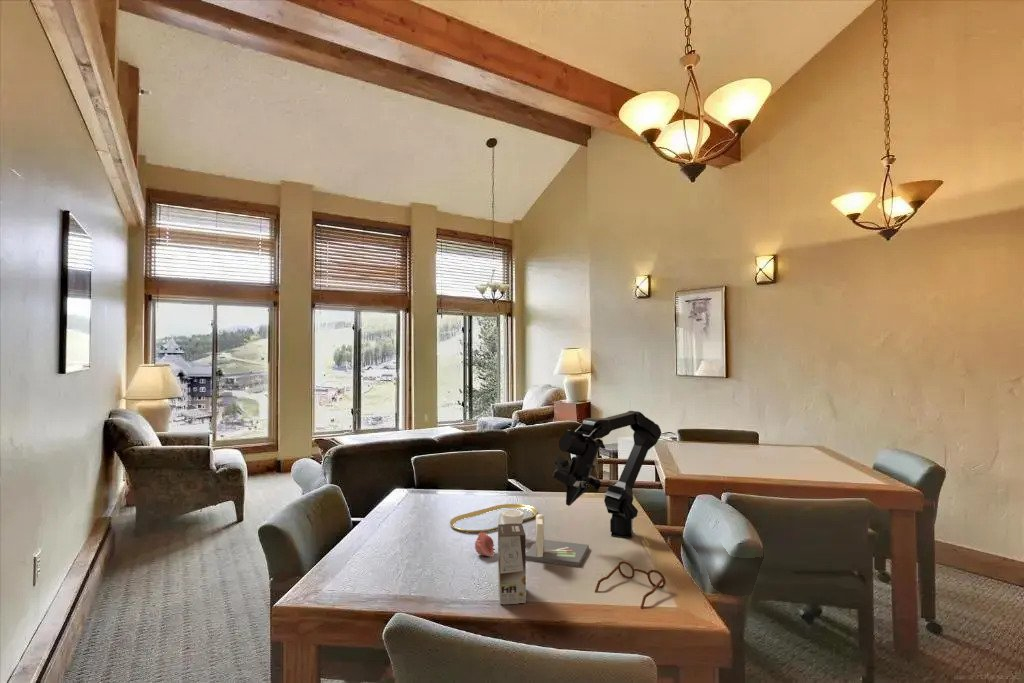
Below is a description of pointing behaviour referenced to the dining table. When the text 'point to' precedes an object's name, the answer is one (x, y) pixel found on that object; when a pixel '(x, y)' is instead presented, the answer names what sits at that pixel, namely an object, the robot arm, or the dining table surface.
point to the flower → (484, 545)
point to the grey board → (559, 553)
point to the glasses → (633, 576)
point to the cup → (511, 517)
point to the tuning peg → (542, 537)
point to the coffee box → (511, 563)
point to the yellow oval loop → (488, 511)
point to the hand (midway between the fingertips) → (567, 505)
